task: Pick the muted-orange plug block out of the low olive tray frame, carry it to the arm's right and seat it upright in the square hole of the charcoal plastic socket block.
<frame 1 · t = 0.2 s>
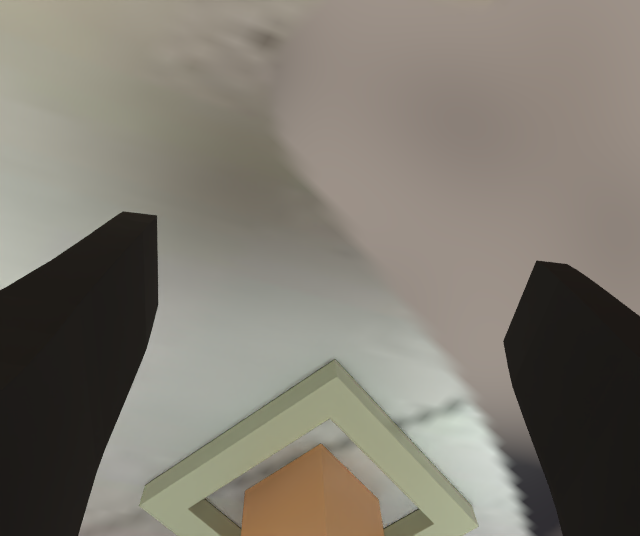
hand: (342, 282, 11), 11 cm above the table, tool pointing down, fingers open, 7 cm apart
tray: (312, 496, 28), on the table
plug: (312, 495, 28), resting in tray
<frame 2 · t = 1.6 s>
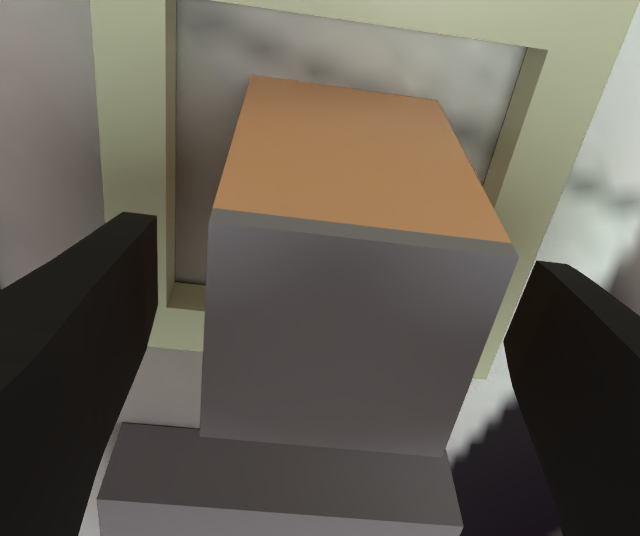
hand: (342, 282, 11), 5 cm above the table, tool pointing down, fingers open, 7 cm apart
tray: (331, 174, 16), on the table
socket block: (272, 531, 24), on the table
plug: (331, 173, 16), resting in tray
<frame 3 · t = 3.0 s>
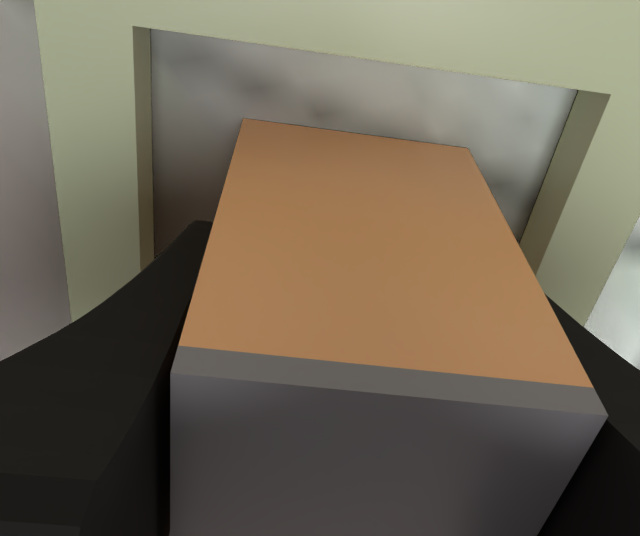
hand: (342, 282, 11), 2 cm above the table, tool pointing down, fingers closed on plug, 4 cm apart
tray: (339, 231, 13), on the table
plug: (339, 230, 13), resting in tray, touching gripper
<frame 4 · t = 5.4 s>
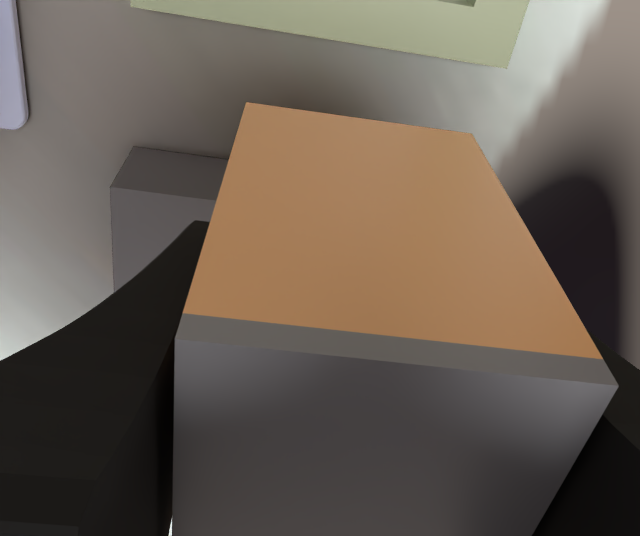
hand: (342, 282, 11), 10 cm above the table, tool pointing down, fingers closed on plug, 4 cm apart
socket block: (281, 299, 24), on the table
plug: (342, 217, 13), point 8 cm above the table, touching gripper
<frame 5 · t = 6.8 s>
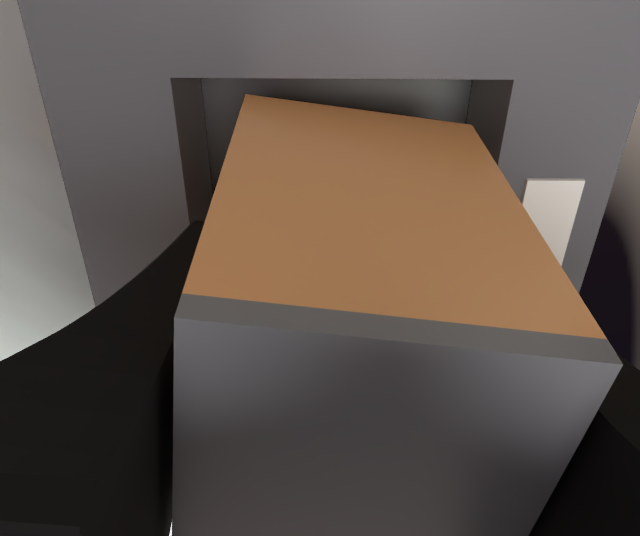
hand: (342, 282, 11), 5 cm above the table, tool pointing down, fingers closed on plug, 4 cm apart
socket block: (334, 169, 16), on the table
plug: (342, 210, 13), point 3 cm above the table, touching gripper
when the fingers open (4 cm above the table, at t = 7.9 s): plug drops 2 cm, resting in socket block.
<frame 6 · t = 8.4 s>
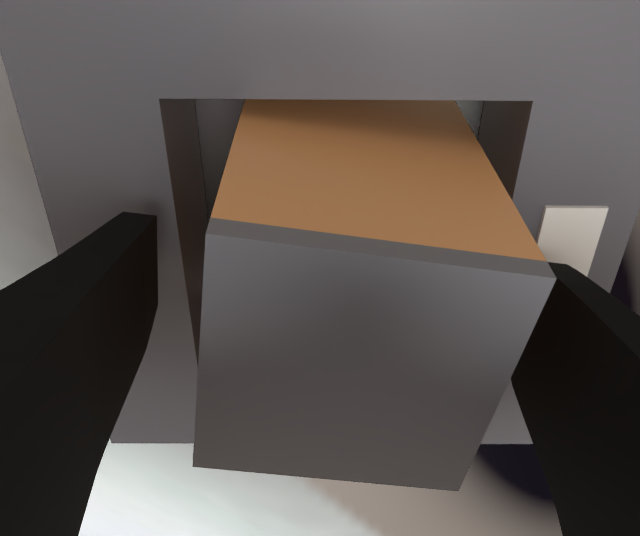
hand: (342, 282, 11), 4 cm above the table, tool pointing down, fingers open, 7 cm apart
socket block: (337, 189, 15), on the table
plug: (338, 175, 15), resting in socket block
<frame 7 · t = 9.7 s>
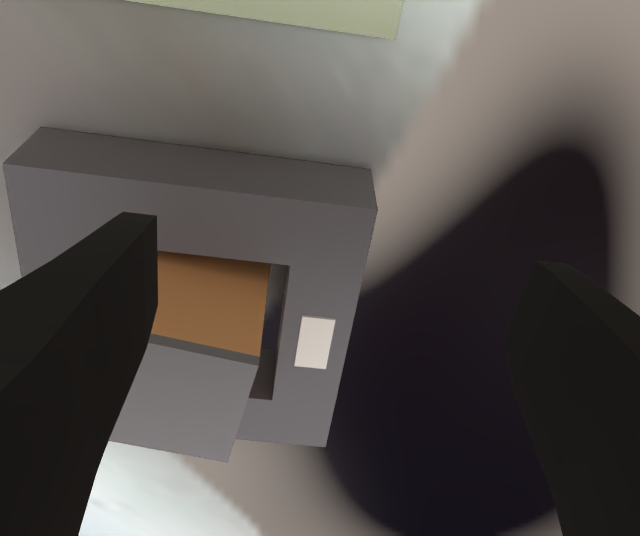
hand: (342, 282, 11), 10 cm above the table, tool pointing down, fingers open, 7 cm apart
socket block: (204, 281, 24), on the table
plug: (205, 273, 24), resting in socket block
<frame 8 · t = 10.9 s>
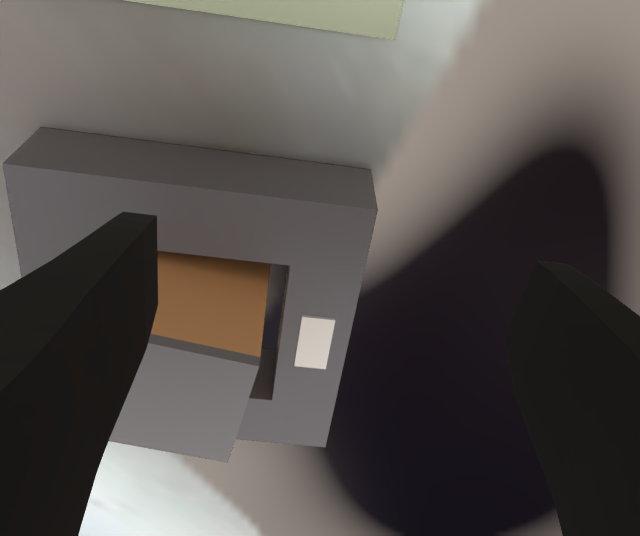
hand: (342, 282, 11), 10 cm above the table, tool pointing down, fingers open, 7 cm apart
socket block: (204, 281, 24), on the table
plug: (205, 273, 24), resting in socket block
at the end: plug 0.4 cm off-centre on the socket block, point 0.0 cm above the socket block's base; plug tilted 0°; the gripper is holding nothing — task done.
